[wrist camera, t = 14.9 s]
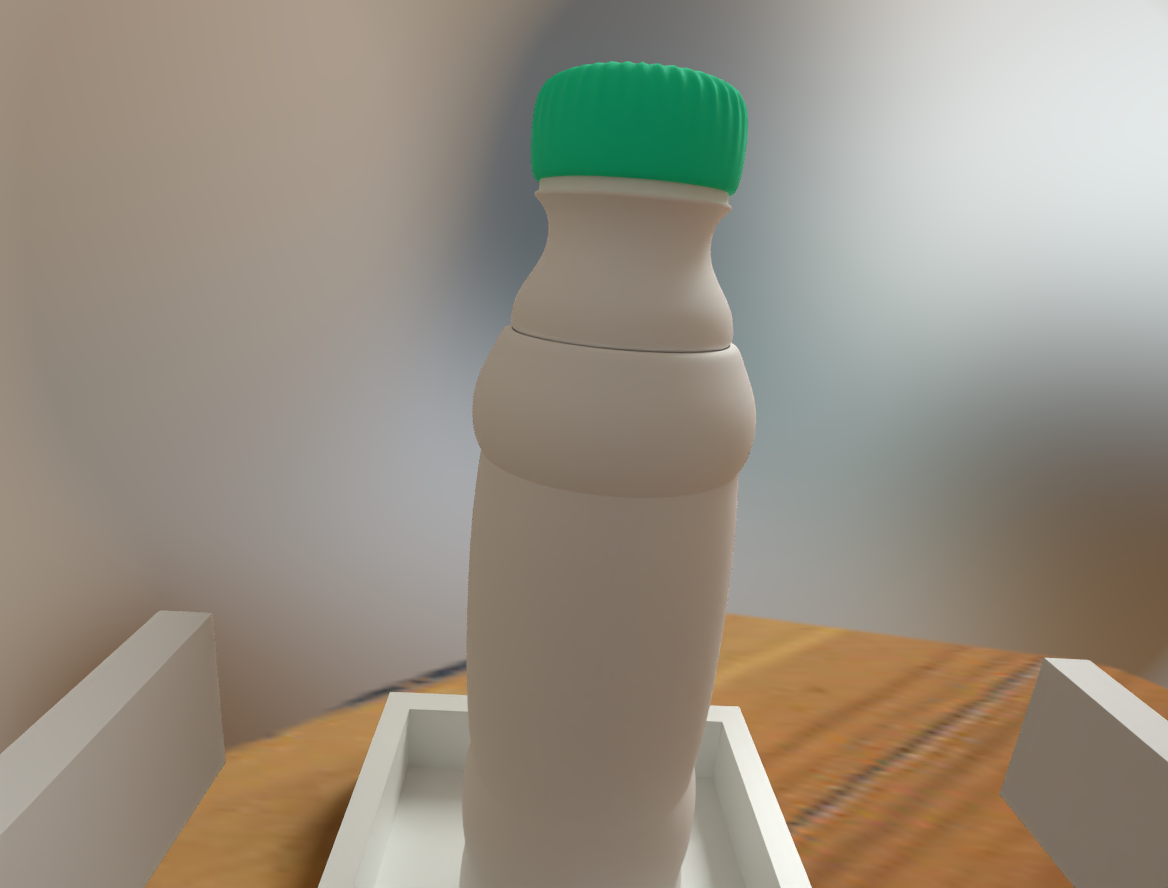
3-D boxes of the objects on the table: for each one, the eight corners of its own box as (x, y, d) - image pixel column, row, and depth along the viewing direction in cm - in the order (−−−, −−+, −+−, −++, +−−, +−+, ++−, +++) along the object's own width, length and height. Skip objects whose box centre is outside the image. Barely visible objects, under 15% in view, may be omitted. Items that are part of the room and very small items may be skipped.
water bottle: (494, 1098, 17) (556, -5, 10) (435, 868, 23) (446, 82, 16) (716, 989, 20) (888, 80, 13) (612, 810, 26) (689, 125, 19)
